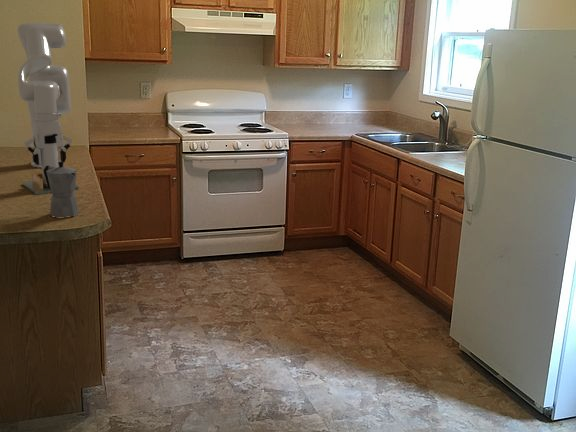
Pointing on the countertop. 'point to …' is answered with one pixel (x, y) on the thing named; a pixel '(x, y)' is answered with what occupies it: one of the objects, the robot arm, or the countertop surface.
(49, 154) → the travel mug
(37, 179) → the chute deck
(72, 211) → the coffeepot
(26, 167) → the countertop surface
